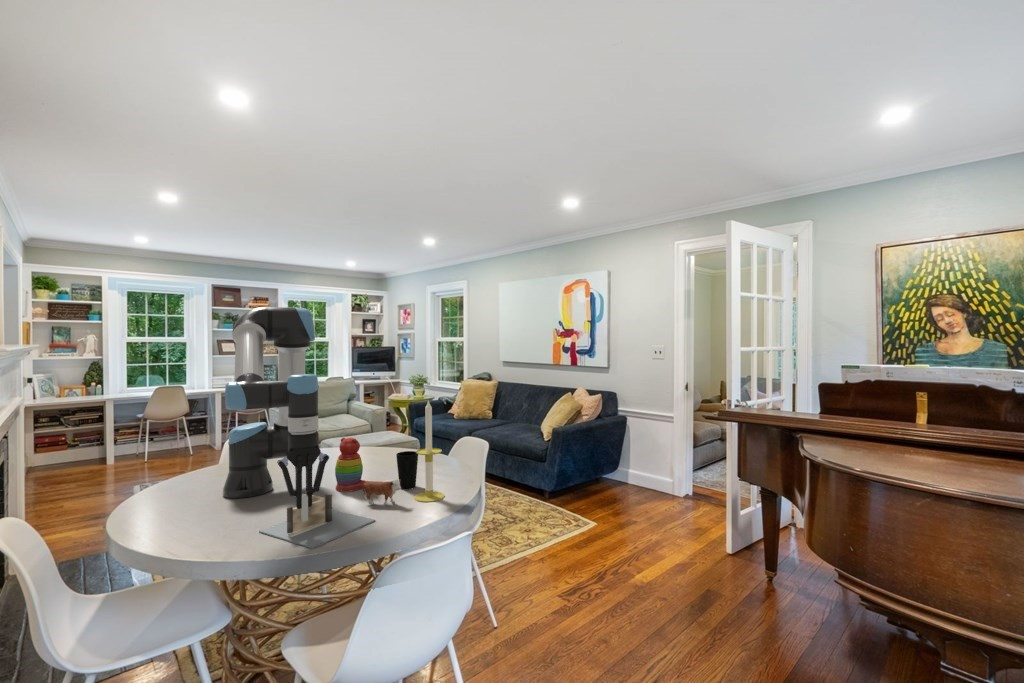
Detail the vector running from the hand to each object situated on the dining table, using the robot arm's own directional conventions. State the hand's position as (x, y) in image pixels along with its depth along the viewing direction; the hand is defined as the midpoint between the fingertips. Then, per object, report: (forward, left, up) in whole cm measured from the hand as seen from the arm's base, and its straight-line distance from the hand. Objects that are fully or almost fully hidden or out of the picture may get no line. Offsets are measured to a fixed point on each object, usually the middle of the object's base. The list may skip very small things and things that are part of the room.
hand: (304, 519), depth 127 cm
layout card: (-1, +5, -4) cm, 7 cm away
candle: (+10, +40, -4) cm, 41 cm away
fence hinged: (-2, +2, -3) cm, 4 cm away
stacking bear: (-22, +35, -4) cm, 42 cm away
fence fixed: (-6, +9, -3) cm, 11 cm away
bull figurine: (+1, +28, -4) cm, 28 cm away
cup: (-4, +45, -4) cm, 45 cm away
